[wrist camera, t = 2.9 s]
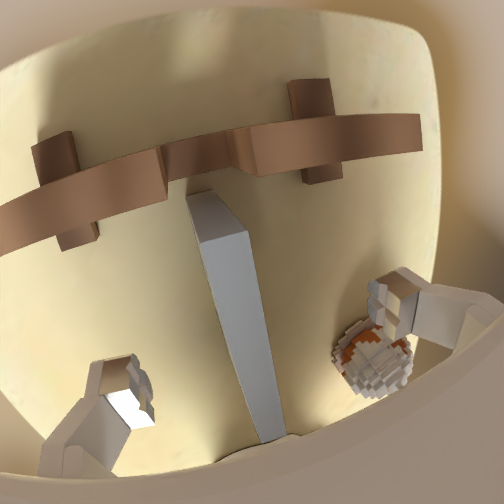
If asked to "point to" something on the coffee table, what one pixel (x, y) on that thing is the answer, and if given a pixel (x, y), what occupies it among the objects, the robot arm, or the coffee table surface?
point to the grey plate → (238, 308)
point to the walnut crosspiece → (196, 165)
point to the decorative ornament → (373, 360)
